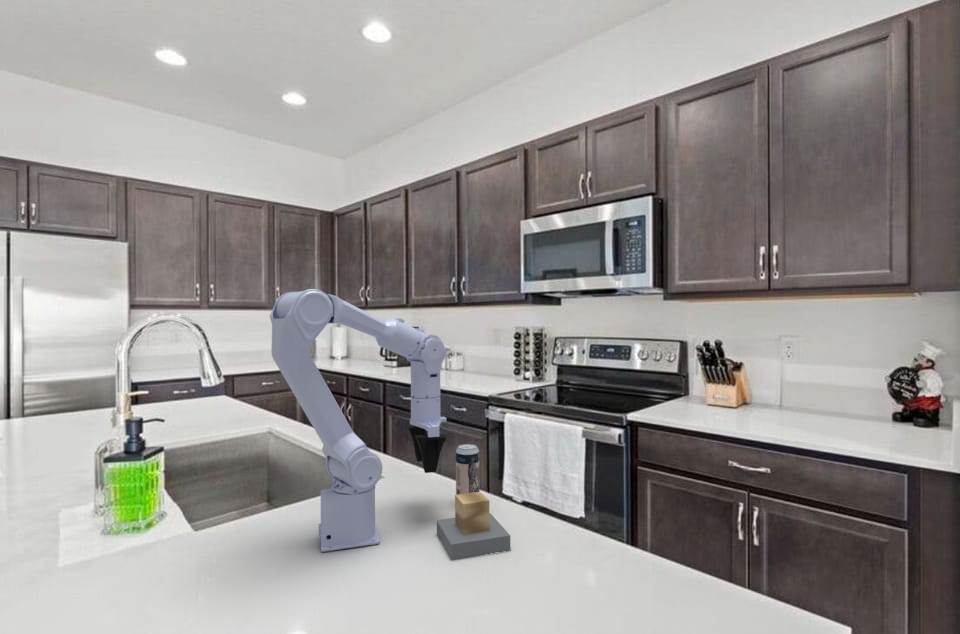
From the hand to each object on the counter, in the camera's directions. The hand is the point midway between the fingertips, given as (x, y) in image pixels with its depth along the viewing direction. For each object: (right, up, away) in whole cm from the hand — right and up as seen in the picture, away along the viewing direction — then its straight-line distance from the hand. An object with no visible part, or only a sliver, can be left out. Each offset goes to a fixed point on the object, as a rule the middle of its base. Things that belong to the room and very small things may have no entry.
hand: (426, 466), depth 95 cm
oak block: (+9, -7, -12) cm, 16 cm away
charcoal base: (+9, -10, -12) cm, 18 cm away
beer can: (+8, -10, +5) cm, 13 cm away
